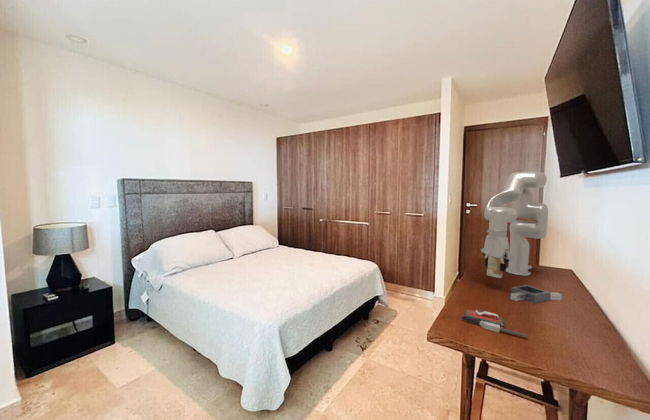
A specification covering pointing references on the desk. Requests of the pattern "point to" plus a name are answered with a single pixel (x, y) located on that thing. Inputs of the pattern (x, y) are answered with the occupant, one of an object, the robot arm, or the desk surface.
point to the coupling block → (532, 294)
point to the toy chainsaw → (488, 321)
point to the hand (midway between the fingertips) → (495, 268)
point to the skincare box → (494, 267)
